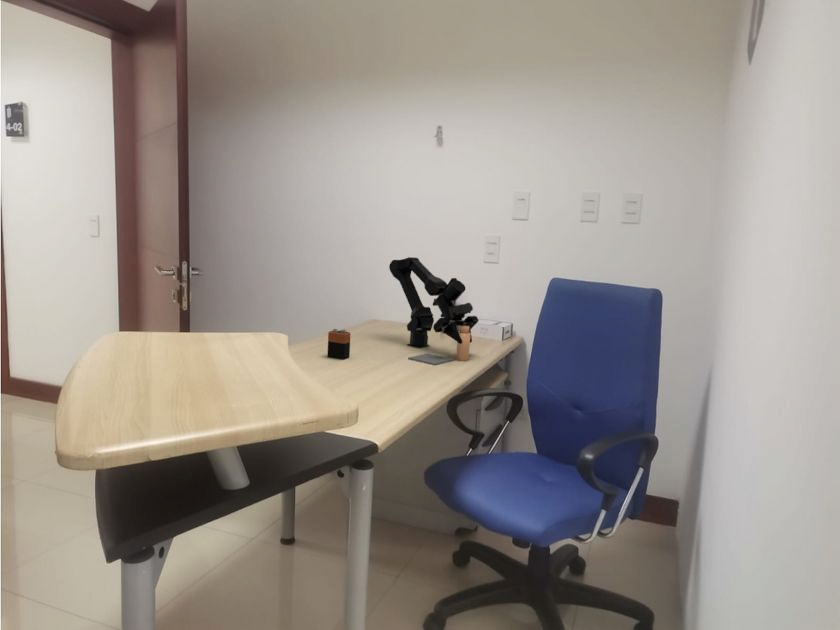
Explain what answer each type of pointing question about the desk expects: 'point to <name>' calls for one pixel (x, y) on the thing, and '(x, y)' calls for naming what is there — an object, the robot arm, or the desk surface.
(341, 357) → the battery
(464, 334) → the peach capped bottle
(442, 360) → the mat
